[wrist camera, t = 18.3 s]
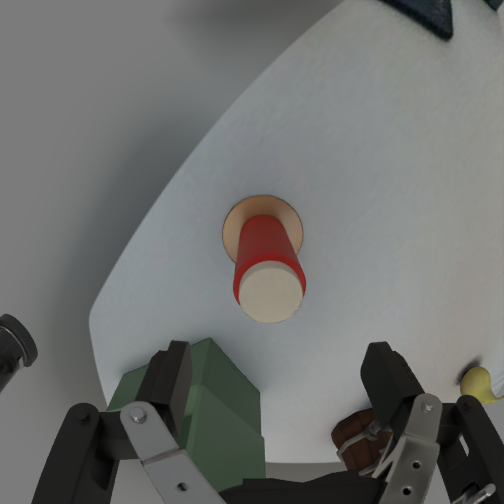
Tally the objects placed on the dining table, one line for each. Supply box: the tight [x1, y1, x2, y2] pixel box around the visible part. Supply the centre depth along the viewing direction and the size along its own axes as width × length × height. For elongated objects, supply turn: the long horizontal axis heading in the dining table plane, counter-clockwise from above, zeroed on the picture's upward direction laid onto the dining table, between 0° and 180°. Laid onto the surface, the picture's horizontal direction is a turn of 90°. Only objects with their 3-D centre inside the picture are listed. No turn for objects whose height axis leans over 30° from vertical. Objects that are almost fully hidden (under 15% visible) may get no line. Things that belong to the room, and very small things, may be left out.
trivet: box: [222, 195, 303, 263], centre depth 28 cm, size 8×8×1 cm
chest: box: [106, 338, 261, 452], centre depth 32 cm, size 17×12×8 cm
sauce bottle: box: [233, 215, 306, 324], centre depth 22 cm, size 5×5×12 cm
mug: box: [331, 409, 393, 477], centre depth 33 cm, size 16×12×15 cm
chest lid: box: [186, 385, 266, 493], centre depth 18 cm, size 17×12×5 cm
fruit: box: [460, 366, 504, 404], centre depth 32 cm, size 7×8×12 cm
